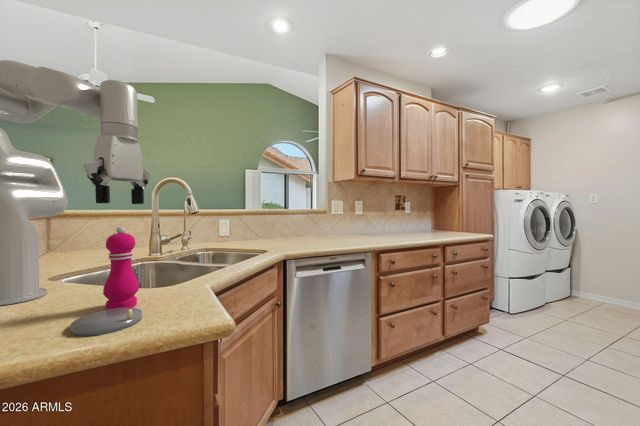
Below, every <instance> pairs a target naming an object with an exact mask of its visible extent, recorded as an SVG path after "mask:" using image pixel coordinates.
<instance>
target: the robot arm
mask: <svg viewBox="0 0 640 426" xmlns="http://www.w3.org/2000/svg"><path fill="white" fill-rule="evenodd" d="M58 106H59V107H61V108H66V109H68V110H71V111H75V112H78V113H80V114H84V115H87V116H89V117H92V118H96V119H97V120H98V119H99V120H100V121H99V122H100V127H99V128H100V135H97V137H96V141H95V144H94V149H93V160H91V161H89V162H87V163H84V164H83V165H82V167H83V169H84V171H85V173H86V175H87V178H88V179H89V180H90V182H91V184H92V186H94V187H95V190H94V191H95V203H96V204H109V203H110V202H111V195H110V193H111V190H110V188H111V187H110V185H107V184H109V182H110V181H118V182H129V185H131V187H132V188H131V190H130V191H131V193H130V196H131V204H132V205H143V204H145V203H144V202H145V198H144V197H145V195H144V194H145V193H144V191H145V189H146V186H147V185H148V184H149V180H150V177H151V174H150V173H149V172H148V171H147V170H145V169H144V166H143V165H144V163H143V155H142V149H141V145H140V143H139V139H140V136H139V122H138V121H139V120H138V119H139V117H138V113H139V112H138V92H137V90H136V89H135V87H134V86H133V85H131V84H129V83H127V82H124V81H120V80H117V79H106V80H103V81H101V82H100V84H99V86H97V85H95V84H92V83H90V82H88V81H85V80H83V79H81V78H78V77H76V76H74V75H72V74H69V73H67V72H63V71H60V70H57V69H53V68H49V67H47V66H38V67H37V66H33V65H30V64H26V63H23V62H20V61H16V60H10V59H2V60H0V119H1V120H4V121H5V120H6V121H9V122H13V123H17V124H30V123H34V122H36V121H37V120H39V119H41V118H42V117H44V116H46V115H47V114H48V113H49V112H51V111H53V110H54V109H55V108H57V107H58ZM62 183H63V182H62V181H61V179H60V176H59V174H58V172H57V170H56V168H55V166H54V163H52V161H50V160H49V159H48V158H47V157H46V156H44V155H41V154H39V153H35V152H30V151H23V150H19V149H17V148H15V147H14V146H13V144H12V143H11V141H10V138H9V136H8V134H7V133H6V131H5V130H4V129H3V128H2V127H1V126H0V306H5V305H11V304H18V303H23V302H28V301H32V300H35V299H39V298H41V297H44V296H45V295H47V294H48V289H47V288H44V287H43V288H42V287H40V257H39V256H40V253H39V252H40V246H39V244H40V243H39V232H38V230H37V228H36V226H35V225H34V224H33V223H32V221H31V220H30V219H29V218H40V217H44V218H45V217H46V218H47V217H56V216H59V215H61V214H63V213H64V212H66V210H67V208H68V203H69V200H68V199H69V198H68V196H67V193H66V189H65V188H64V186H63V184H62Z"/></svg>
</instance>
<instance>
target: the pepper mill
mask: <svg viewBox="0 0 640 426" xmlns="http://www.w3.org/2000/svg"><path fill="white" fill-rule="evenodd" d="M115 231H116V232H117V233H113V234H111V235H109V236H108V238H106V241H105V247H106V249H107V251H109V253H108V260H110V270H109V274H108V277H107V278H106V280H105V282H104V286H103V289H102V294H103V296H104V298H107V300H106V301H105V310H108V309H114V308H125V307H130V308H135V306H137V303H138V302H137V299H138V298H137V297H136V294H137V293H138V291H140V290H139V289H140V288H139V287H140V286H139V282H138V279H137V277H136V274H135V273H134V270H133V267H132V259H133V258H134V255H133V254H134V251H133V249H134V248H135V247H136V238H135V237H134V236H133V235H132V234H130V233H126V228H125V227H123V226H118V227H117V228H116V230H115Z"/></svg>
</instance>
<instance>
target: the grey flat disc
mask: <svg viewBox="0 0 640 426" xmlns="http://www.w3.org/2000/svg"><path fill="white" fill-rule="evenodd" d="M142 318H143V311H142V309H140V308H136V307H132V308H130V307H125V308H114V309H108V310H106V309H104V310H100V311H94V312H93V313H89V314H86V315H83V316H80V317H79V318H77V319H75V320H73V321H72V322H71V324H70V333H71V335H74V336H77V337H78V336H79V337H93V336H100V335H105V334H106V335H107V334H110V333H115V332H119V331H122V330H124V329H127V328H129V327H132V326H134V325H136V324H137V323H139V322H140V321H141V320H142Z"/></svg>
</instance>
